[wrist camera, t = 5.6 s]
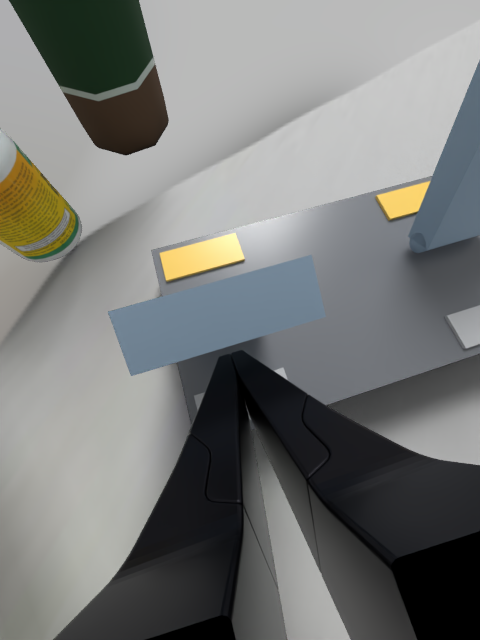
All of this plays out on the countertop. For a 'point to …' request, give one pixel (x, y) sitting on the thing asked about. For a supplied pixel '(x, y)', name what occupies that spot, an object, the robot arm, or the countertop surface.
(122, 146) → the beer bottle
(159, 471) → the countertop surface
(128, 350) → the panel
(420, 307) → the switch panel
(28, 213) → the supplement bottle
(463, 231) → the upright blue panel
